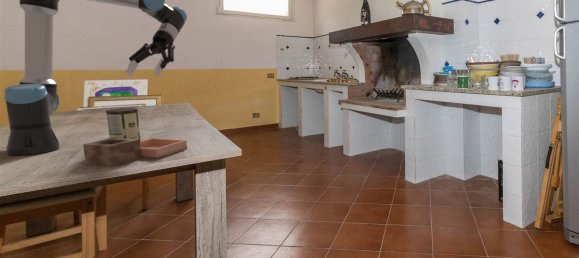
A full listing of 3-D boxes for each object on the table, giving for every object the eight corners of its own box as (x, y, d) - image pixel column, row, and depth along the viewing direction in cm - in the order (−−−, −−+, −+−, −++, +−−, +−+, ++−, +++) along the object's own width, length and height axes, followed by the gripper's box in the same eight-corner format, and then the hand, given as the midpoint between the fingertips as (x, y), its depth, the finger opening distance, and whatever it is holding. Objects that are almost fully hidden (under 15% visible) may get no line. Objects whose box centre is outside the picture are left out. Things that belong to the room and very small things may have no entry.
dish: (120, 155, 113) (120, 146, 113) (153, 145, 127) (152, 138, 127) (157, 158, 108) (156, 149, 108) (186, 148, 122) (186, 140, 122)
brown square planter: (85, 163, 103) (83, 144, 102) (115, 155, 114) (113, 137, 113) (113, 166, 100) (111, 146, 99) (141, 157, 110) (139, 139, 109)
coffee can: (120, 144, 130) (117, 108, 128) (146, 145, 129) (143, 107, 127) (103, 151, 120) (99, 111, 118) (131, 151, 119) (127, 111, 117)
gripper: (135, 31, 143) (110, 67, 132) (185, 27, 134) (163, 66, 123) (146, 45, 149) (122, 81, 137) (194, 42, 140) (173, 80, 129)
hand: (141, 74), depth 130 cm, fingers open, 13 cm apart
